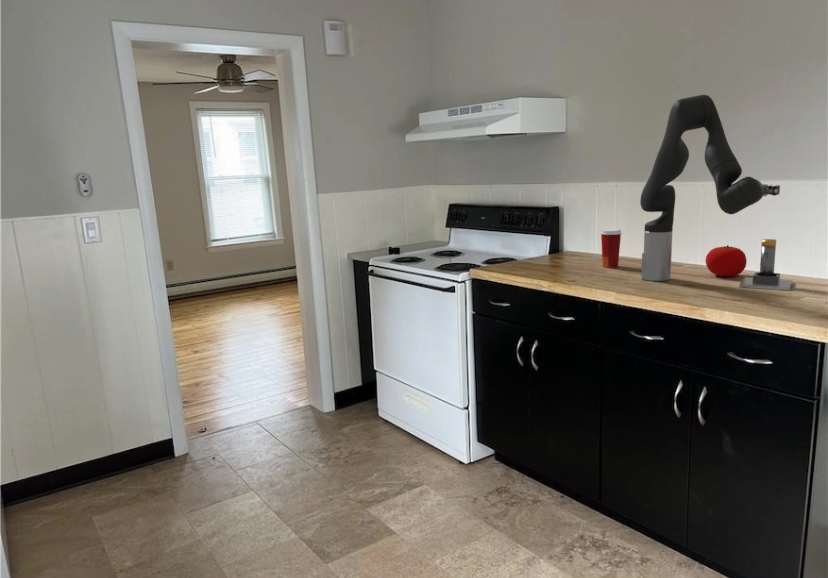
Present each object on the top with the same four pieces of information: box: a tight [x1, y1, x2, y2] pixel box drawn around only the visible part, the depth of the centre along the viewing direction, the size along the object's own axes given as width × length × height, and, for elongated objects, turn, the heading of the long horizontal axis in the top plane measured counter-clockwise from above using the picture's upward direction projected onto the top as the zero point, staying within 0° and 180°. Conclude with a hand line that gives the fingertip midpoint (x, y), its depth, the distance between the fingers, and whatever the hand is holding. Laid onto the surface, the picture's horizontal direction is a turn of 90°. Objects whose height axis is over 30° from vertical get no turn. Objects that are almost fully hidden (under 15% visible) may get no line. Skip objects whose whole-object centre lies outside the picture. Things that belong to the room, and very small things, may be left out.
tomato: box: [705, 245, 747, 278], centre depth 218 cm, size 12×13×11 cm
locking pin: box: [759, 238, 777, 276], centre depth 199 cm, size 4×4×14 cm
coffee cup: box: [599, 228, 622, 269], centre depth 246 cm, size 8×8×15 cm
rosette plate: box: [738, 271, 793, 291], centre depth 200 cm, size 14×14×4 cm
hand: (753, 189), depth 185 cm, fingers open, 8 cm apart
